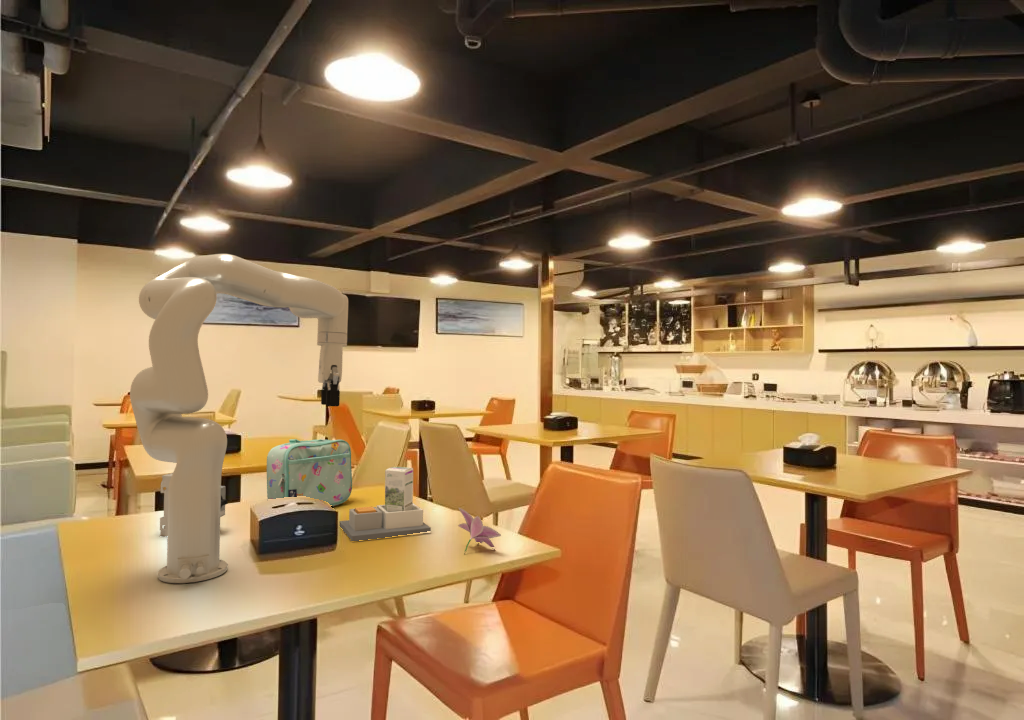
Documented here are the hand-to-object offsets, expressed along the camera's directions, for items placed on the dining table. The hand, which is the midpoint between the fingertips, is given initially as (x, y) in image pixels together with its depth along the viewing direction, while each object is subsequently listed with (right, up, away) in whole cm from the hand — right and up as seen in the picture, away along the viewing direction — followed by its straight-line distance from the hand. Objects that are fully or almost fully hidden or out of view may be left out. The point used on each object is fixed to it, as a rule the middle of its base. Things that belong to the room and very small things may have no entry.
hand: (329, 405), depth 161 cm
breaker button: (+10, -31, -2) cm, 32 cm away
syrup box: (+18, -31, +1) cm, 36 cm away
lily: (+40, -33, -17) cm, 54 cm away
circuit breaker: (-32, -32, -5) cm, 46 cm away
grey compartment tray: (+14, -33, 0) cm, 36 cm away
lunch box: (-12, -33, +22) cm, 42 cm away
